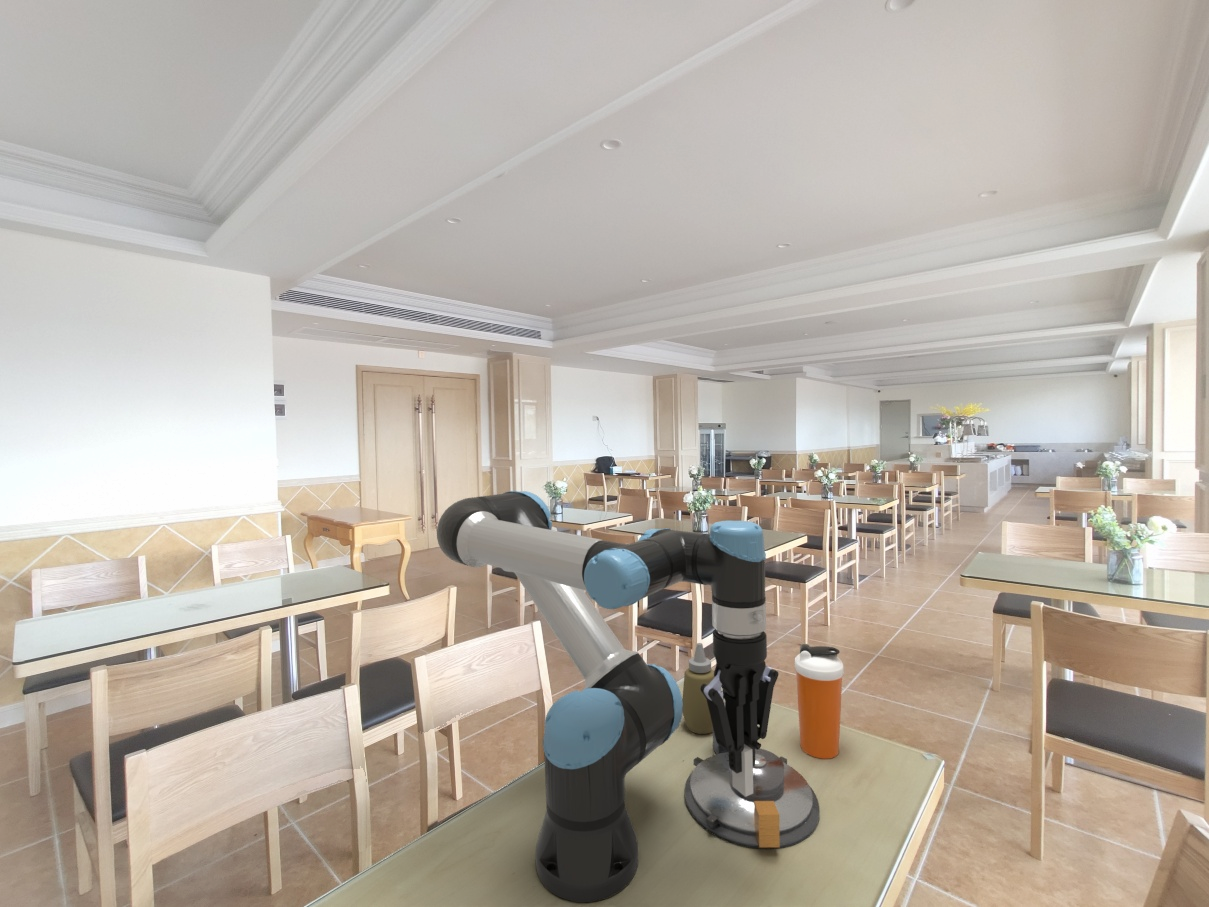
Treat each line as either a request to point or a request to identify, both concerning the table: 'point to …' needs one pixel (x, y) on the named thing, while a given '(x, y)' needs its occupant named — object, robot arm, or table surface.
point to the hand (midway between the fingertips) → (742, 789)
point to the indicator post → (716, 746)
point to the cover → (764, 778)
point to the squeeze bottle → (697, 693)
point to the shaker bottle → (819, 699)
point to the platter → (744, 815)
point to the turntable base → (751, 840)
